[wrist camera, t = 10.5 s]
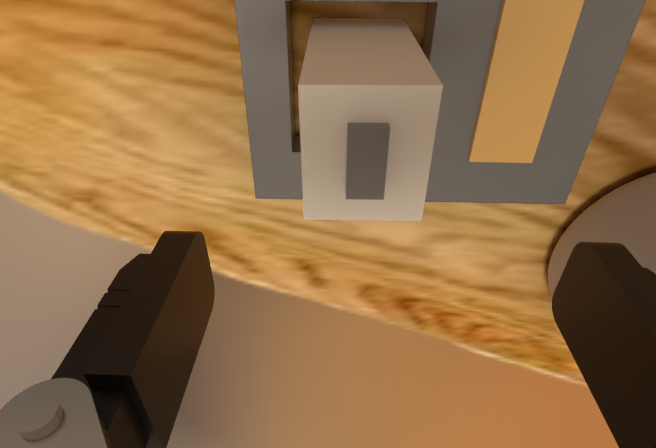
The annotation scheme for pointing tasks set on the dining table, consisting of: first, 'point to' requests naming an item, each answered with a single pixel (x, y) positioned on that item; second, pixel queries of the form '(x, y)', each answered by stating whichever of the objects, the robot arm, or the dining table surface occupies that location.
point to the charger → (366, 120)
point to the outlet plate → (464, 93)
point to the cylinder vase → (613, 226)
